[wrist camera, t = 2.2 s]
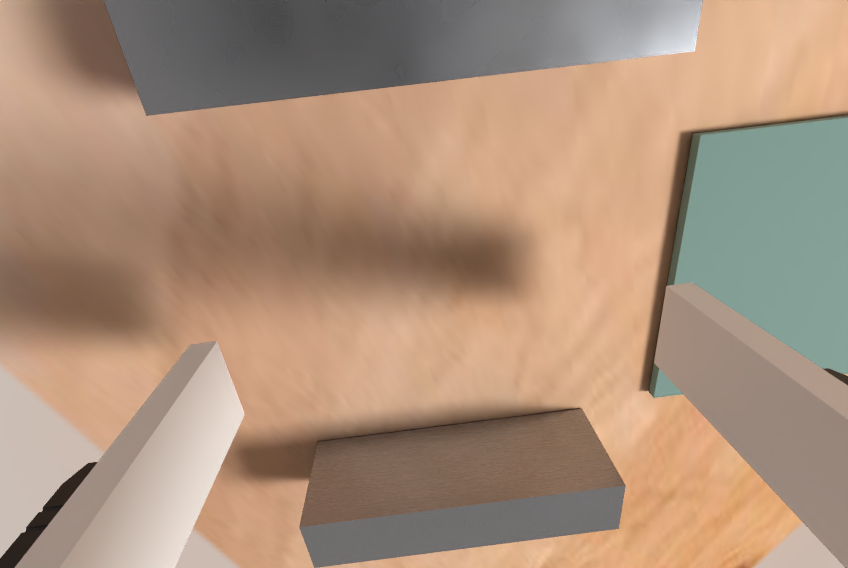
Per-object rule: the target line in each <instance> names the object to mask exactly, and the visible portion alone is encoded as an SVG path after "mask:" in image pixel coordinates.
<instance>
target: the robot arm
mask: <svg viewBox="0 0 848 568" xmlns="http://www.w3.org/2000/svg"><path fill="white" fill-rule="evenodd" d="M654 363H655V364H656V366H657V367H658V368H659V369H660V370H661V371H662V372H663V373H664V374H665V375H666V376H667V377H668V378H669V379H670V381H671V382H672V383H673V384H674V385H675V386H676V387H677V388H678V389H679V390H680V391H681V392H682V393H683V394H684V396H685V397H686V398H687V399H688V400H689V401H690V402H691V403H692V404H693V405H694V406H695V407H696V408H697V409H698V410H699V412H700V413H701V414H702V415H703V416H704V417H705V418H706V419H707V420H708V421H709V422H710V423H711V424H712V425H713V427H714V428H715V429H716V430H717V431H718V432H719V433H720V434H721V435H722V436H723V437H724V438H725V439H726V440H727V442H728V443H729V444H730V445H731V446H732V447H733V448H734V449H735V450H736V451H737V452H738V453H739V454H740V455H741V457H742V458H743V459H744V460H745V461H746V462H747V463H748V464H749V465H750V466H751V467H752V468H753V469H754V470H755V472H756V473H757V474H758V475H759V476H760V477H761V478H762V479H763V480H764V481H765V482H766V483H767V484H768V485H769V487H770V488H771V489H772V490H773V491H774V492H775V493H776V494H777V495H778V496H779V497H780V498H781V499H782V500H783V502H784V503H785V504H786V505H787V506H788V507H789V508H790V509H791V510H792V511H793V512H794V513H795V514H796V515H797V517H798V518H799V519H800V520H801V521H802V522H803V523H804V524H805V525H806V526H807V527H808V528H809V529H810V530H811V531H812V533H813V534H814V535H815V536H816V537H817V538H818V539H819V540H820V541H821V542H822V543H823V544H824V545H825V546H826V548H828V550H829V551H830V552H831V553H832V554H833V555H834V556H835V557H836V558H837V559H838V560H839V561H840V563H841V564H842V565H843V566H844V567H845V568H848V376H846V375H844V374H841V373H839V372H837V371H834V370H832V369H829V368H825V369H822V368H820V367H819V366H817V365H816V364H814V363H813V362H811V361H810V360H808V359H807V358H805V357H804V356H802V355H801V354H799V353H798V352H796V351H795V350H793V349H792V348H790V347H789V346H787V345H786V344H784V343H783V342H781V341H780V340H778V339H777V338H775V337H774V336H772V335H771V334H769V333H768V332H766V331H765V330H763V329H762V328H760V327H759V326H757V325H756V324H754V323H753V322H751V321H750V320H748V319H747V318H745V317H744V316H742V315H740V314H739V313H737V312H736V311H734V310H733V309H731V308H730V307H728V306H727V305H725V304H724V303H722V302H721V301H719V300H718V299H716V298H715V297H713V296H712V295H710V294H709V293H707V292H706V291H704V290H703V289H701V288H700V287H698V286H697V285H695V284H694V283H685V284H677V285H669V286H666V292H665V298H664V304H663V310H662V317H661V323H660V329H659V335H658V341H657V348H656V354H655V360H654ZM244 415H245V414H244V411H243V408H242V406H241V403H240V401H239V398H238V395H237V393H236V390H235V387H234V385H233V382H232V380H231V377H230V374H229V372H228V369H227V366H226V364H225V361H224V358H223V356H222V353H221V351H220V348H219V345H218V343H217V341H216V342H208V343H200V344H192V345H190V346H189V347H188V348H187V350H186V351H185V352H184V353H183V355H182V356H181V357H180V358H179V360H178V361H177V362H176V364H175V365H174V366H173V367H172V369H171V370H170V371H169V372H168V374H167V375H166V376H165V378H164V379H163V380H162V381H161V383H160V384H159V385H158V386H157V388H156V389H155V390H154V391H153V393H152V394H151V395H150V397H149V398H148V399H147V400H146V402H145V403H144V404H143V405H142V407H141V408H140V409H139V410H138V412H137V413H136V414H135V416H134V417H133V418H132V419H131V421H130V422H129V423H128V424H127V426H126V427H125V428H124V430H123V431H122V432H121V433H120V435H119V436H118V437H117V438H116V440H115V441H114V442H113V443H112V445H111V446H110V447H109V449H108V450H107V451H106V452H105V454H104V455H103V456H102V457H101V459H100V460H99V461H98V462H93V463H88V464H86V465H85V466H84V467H83V468H82V469H80V470H79V471H78V472H77V473H76V474H74V475H73V476H72V477H71V478H69V479H68V480H67V481H66V482H64V483H63V484H62V485H61V486H60V488H59V489H58V490H57V491H56V492H55V494H54V495H53V496H52V497H51V498H50V500H49V501H48V502H47V503H46V504H45V506H44V507H43V511H42V512H39V513H38V514H37V515H36V516H35V518H34V519H33V520H32V521H31V522H30V524H29V525H28V526H27V527H26V532H25V533H21V534H20V536H19V537H18V538H17V539H16V540H15V542H14V543H13V544H12V545H11V546H10V548H9V549H8V550H7V551H6V552H5V554H4V555H3V556H2V557H1V558H0V568H175V566H176V564H177V561H178V559H179V557H180V555H181V553H182V551H183V548H184V546H185V544H186V542H187V540H188V537H189V535H190V533H191V531H192V529H193V527H194V524H195V522H196V520H197V518H198V516H199V513H200V511H201V509H202V507H203V505H204V502H205V500H206V498H207V496H208V494H209V491H210V489H211V487H212V485H213V483H214V481H215V478H216V476H217V474H218V472H219V470H220V467H221V465H222V463H223V461H224V459H225V456H226V454H227V452H228V450H229V448H230V445H231V443H232V441H233V439H234V437H235V435H236V432H237V430H238V428H239V426H240V424H241V421H242V419H243V417H244Z"/></svg>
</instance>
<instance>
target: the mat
mask: <svg viewBox="0 0 848 568" xmlns="http://www.w3.org/2000/svg"><path fill="white" fill-rule="evenodd" d="M685 283H694V284H695V285H697V286H698V287H700V288H701V289H703V290H704V291H706V292H707V293H709V294H710V295H712V296H713V297H715V298H716V299H718V300H719V301H721V302H722V303H724V304H725V305H727V306H728V307H730V308H731V309H733V310H734V311H736V312H737V313H739V314H740V315H742V316H744V317H745V318H747V319H748V320H750V321H751V322H753V323H754V324H756V325H757V326H759V327H760V328H762V329H763V330H765V331H766V332H768V333H769V334H771V335H772V336H774V337H775V338H777V339H778V340H780V341H781V342H783V343H784V344H786V345H787V346H789V347H790V348H792V349H793V350H795V351H796V352H798V353H799V354H801V355H802V356H804V357H805V358H807V359H808V360H810V361H811V362H813V363H814V364H816V365H817V366H819V367H820V368H822V369H825V368H829V369H832V370H834V371H837V372H839V373H841V374H848V115H846V116H837V117H829V118H820V119H812V120H804V121H795V122H787V123H779V124H770V125H762V126H753V127H745V128H737V129H728V130H720V131H712V132H703V133H695V134H693V136H692V142H691V148H690V154H689V160H688V165H687V171H686V177H685V183H684V189H683V195H682V201H681V206H680V212H679V218H678V224H677V230H676V236H675V242H674V247H673V253H672V259H671V265H670V271H669V277H668V282H667V286H669V285H677V284H685ZM656 348H657V347H656ZM655 354H656V353H655ZM654 360H655V359H654ZM649 393H650V394H651V395H652V396H653V397H654V398H657V397H665V396H673V395H680V394H683V393H682V392H681V391H680V390H679V389H678V388H677V387H676V386H675V385H674V384H673V383H672V382H671V381H670V379H669V378H668V377H667V376H666V375H665V374H664V373H663V372H662V371H661V370H660V369H659V368H658V367H657V366H656V364H655V363H654V364H653V370H652V376H651V382H650V388H649Z"/></svg>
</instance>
